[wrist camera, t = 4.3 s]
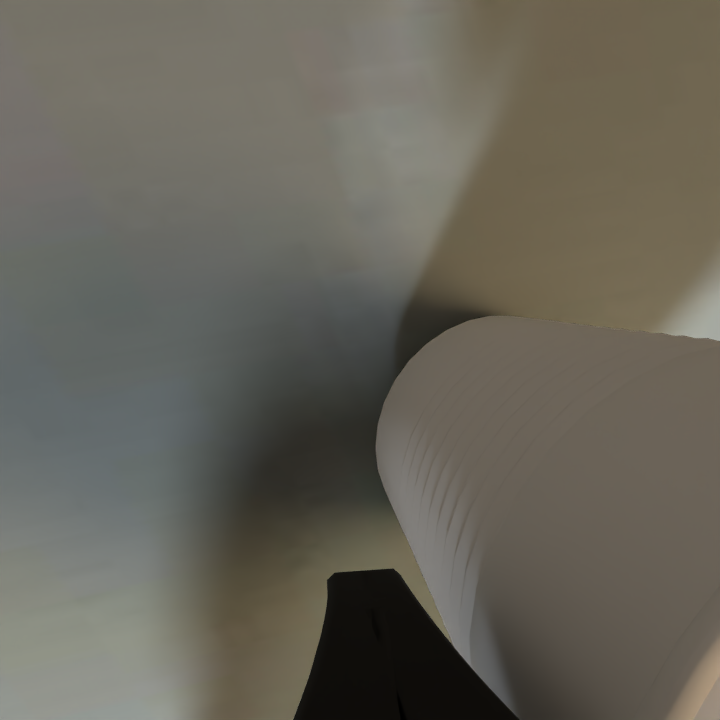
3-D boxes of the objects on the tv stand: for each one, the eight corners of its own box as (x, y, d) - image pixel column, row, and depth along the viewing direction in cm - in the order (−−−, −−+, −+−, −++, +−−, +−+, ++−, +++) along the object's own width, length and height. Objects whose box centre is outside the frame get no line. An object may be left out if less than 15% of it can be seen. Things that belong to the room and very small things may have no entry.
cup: (288, 250, 15) (655, 451, 5) (644, 228, 18) (1312, 319, 8) (305, 620, 18) (552, 1216, 8) (607, 544, 21) (1056, 897, 11)
